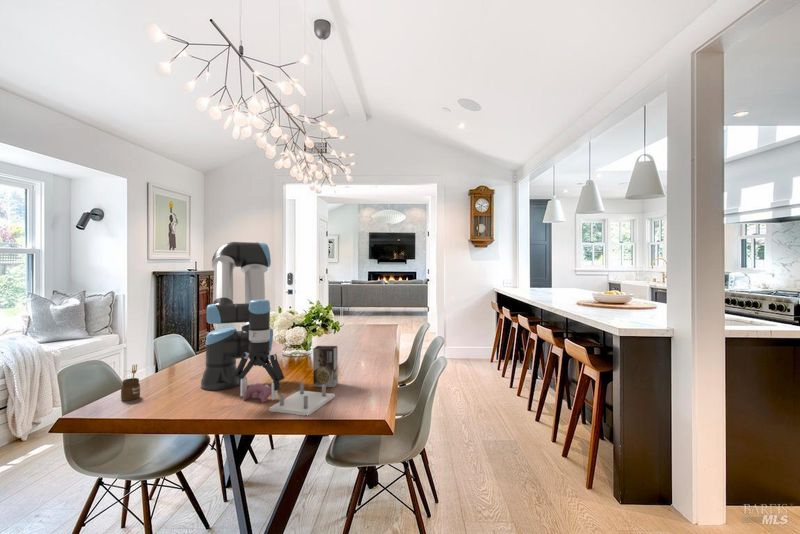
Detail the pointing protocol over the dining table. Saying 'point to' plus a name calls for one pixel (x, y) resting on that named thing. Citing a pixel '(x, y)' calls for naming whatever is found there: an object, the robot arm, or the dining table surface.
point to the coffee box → (325, 366)
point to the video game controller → (254, 390)
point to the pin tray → (302, 401)
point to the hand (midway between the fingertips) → (258, 397)
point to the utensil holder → (130, 387)
